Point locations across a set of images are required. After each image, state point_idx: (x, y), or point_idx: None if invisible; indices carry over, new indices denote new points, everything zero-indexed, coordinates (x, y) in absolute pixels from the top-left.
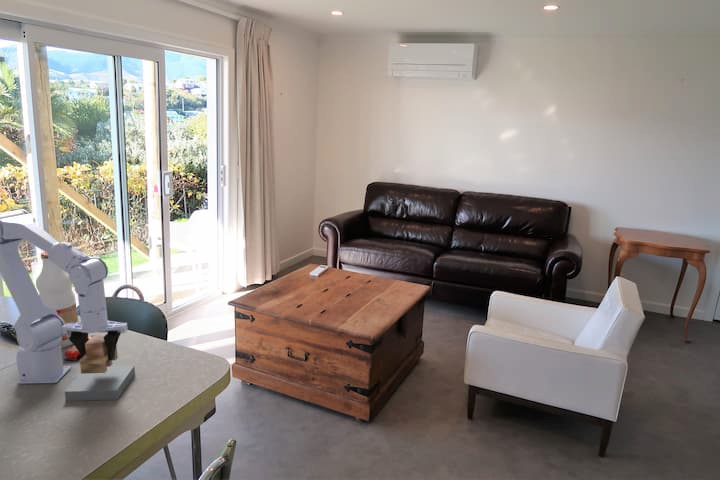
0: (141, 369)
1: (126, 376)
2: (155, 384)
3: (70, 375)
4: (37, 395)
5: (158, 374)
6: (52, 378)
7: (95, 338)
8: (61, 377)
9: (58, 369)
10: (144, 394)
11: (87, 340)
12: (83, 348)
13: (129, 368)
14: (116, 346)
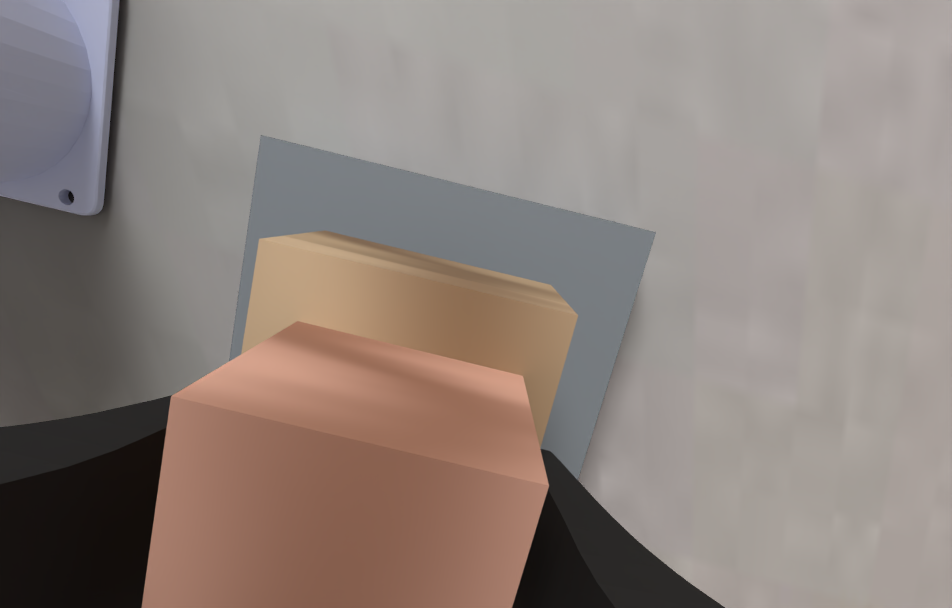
0: (675, 158)
1: (603, 398)
2: (764, 408)
3: (162, 109)
4: (47, 344)
5: (794, 275)
6: (47, 168)
7: (253, 584)
8: (107, 144)
9: (32, 121)
10: (694, 506)
11: (108, 472)
12: (143, 579)
13: (618, 271)
14: (575, 317)
